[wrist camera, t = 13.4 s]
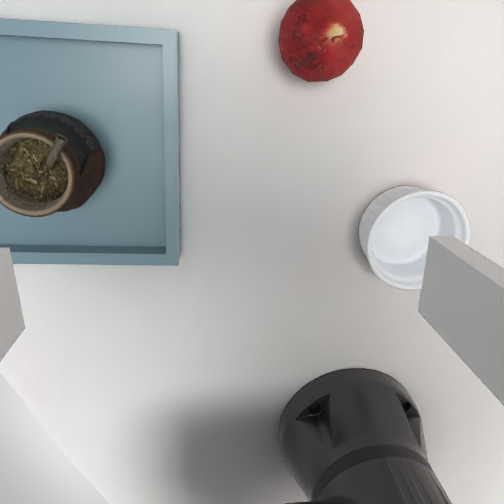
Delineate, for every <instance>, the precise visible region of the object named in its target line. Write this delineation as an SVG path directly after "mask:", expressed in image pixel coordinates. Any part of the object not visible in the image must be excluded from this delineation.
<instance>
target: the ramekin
mask: <svg viewBox="0 0 504 504" xmlns="http://www.w3.org/2000/svg"><path fill="white" fill-rule="evenodd" d="M429 236H453V237H455V238H457V239H458V240H460V241H461V242H463V243H464V244H466V245H468V246H469V241H470V222H469V218H468V216H467V213H466V212H465V210H464V208H463V207H462V206H461V204H460V203H459V202H458V201H456V200H455V199H454V198H452V197H451V196H449V195H447V194H444V193H441V192H437V191H431V190H427V189H424V188H420V187H415V186H398V187H394V188H392V189H389V190H387V191H385V192H383V193H382V194H380V195H379V196H378V197H376V198H375V199H374V200H373V201H372V202H371V203H370V204H369V206H368V207H367V209H366V210H365V212H364V214H363V216H362V218H361V221H360V226H359V239H360V243H361V247H362V249H363V251H364V253H365V255H366V256H367V258H368V262H369V264H370V267H371V268H372V270H373V272H374V273H375V274H376V276H377V277H378V278H379V279H380V280H381V281H383V282H384V283H386V284H388V285H390V286H392V287H395V288H398V289H405V290H416V289H422V282H423V275H424V269H425V262H426V255H427V248H428V242H429Z"/></svg>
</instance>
